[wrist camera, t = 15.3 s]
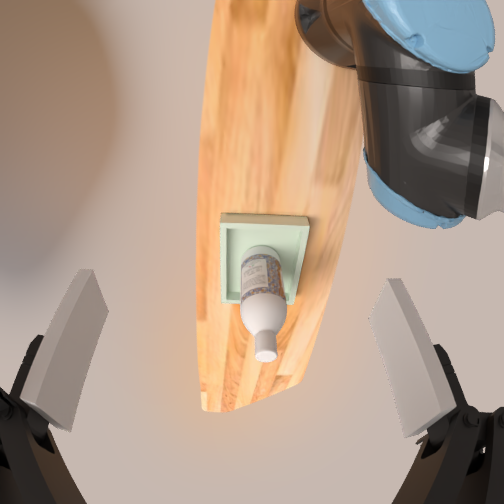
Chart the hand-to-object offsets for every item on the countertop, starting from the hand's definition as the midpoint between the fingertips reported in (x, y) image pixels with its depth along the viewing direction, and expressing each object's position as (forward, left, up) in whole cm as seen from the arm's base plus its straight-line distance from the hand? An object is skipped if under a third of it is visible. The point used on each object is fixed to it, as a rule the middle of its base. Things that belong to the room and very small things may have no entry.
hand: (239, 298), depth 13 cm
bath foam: (+18, +16, -32) cm, 40 cm away
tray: (+18, +16, -33) cm, 41 cm away
